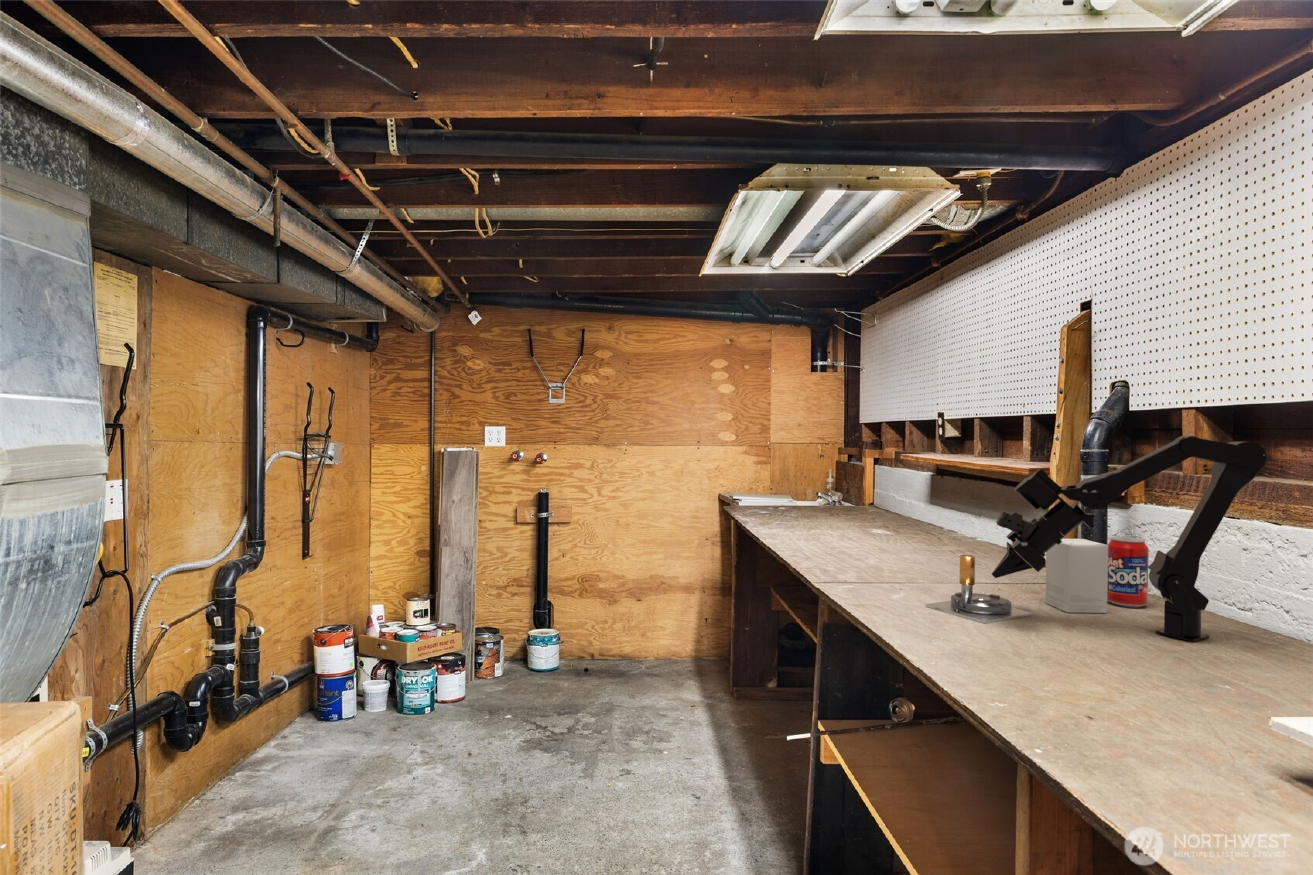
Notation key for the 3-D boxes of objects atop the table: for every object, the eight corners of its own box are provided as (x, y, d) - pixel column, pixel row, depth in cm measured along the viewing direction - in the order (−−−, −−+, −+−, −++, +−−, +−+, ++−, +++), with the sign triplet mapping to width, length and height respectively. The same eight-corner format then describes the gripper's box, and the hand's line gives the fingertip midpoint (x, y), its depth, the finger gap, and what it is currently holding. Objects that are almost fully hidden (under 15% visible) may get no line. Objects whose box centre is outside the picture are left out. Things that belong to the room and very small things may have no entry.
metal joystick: (1023, 609, 150) (1024, 556, 150) (988, 617, 144) (989, 561, 144) (972, 597, 161) (973, 547, 160) (937, 604, 154) (938, 552, 154)
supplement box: (1108, 614, 150) (1110, 544, 150) (1066, 613, 151) (1068, 544, 150) (1083, 603, 160) (1084, 538, 159) (1044, 602, 160) (1045, 537, 159)
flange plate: (971, 599, 162) (971, 586, 162) (1031, 615, 149) (1032, 600, 149) (925, 606, 155) (925, 592, 155) (984, 623, 142) (984, 608, 142)
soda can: (1141, 602, 161) (1143, 537, 161) (1152, 610, 154) (1153, 542, 154) (1102, 599, 164) (1103, 535, 164) (1110, 606, 157) (1111, 540, 156)
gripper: (1017, 493, 154) (963, 541, 158) (1026, 501, 136) (964, 554, 141) (1058, 531, 151) (1001, 578, 155) (1072, 544, 133) (1008, 597, 138)
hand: (993, 576), depth 147 cm, fingers closed
